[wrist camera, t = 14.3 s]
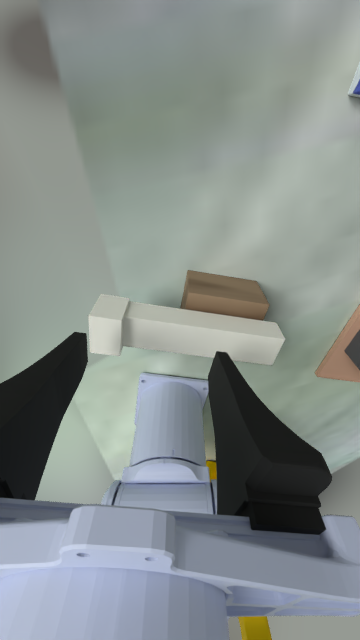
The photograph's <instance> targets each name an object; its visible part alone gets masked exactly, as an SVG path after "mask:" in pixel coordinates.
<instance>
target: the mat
mask: <svg viewBox="0 0 360 640" xmlns="http://www.w3.org/2000/svg"><path fill="white" fill-rule="evenodd" d="M359 329H360V305H359V306H358V308H357V309H356V311H355V312H354V314H353V315H352V317H351V318H350V320H349V321H348V323H347V324H346V326H345V328H344V329H343V331H342V332H341V334H340V335H339V337H338V338H337V340H336V341H335V343H334V344H333V346H332V347H331V349H330V350H329V352H328V353H327V355H326V357H325V358H324V360H323V361H322V363H321V364H320V366H319V367H318V369H317V370H316V372H315V374H316V375H317V377H323V378H331V379H338V380H346V381H354V382H360V370H359V369H358V368H357V366H356V365H355V364H354V363H353V361H352V360H351V359H350V358H349V356H348V355H347V354H346V353H345V351H344V350H345V349H346V348H347V346H348V345H349V343H350V342H351V341H352V339H353V338H354V336H355V335H356V333H357V332H358V331H359Z"/></svg>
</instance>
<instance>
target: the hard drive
mask: <svg viewBox="0 0 360 640" xmlns="http://www.w3.org/2000/svg"><path fill="white" fill-rule="evenodd" d="M348 96H354V97H360V62H359V65H358V68H357V70H356V73H355V76H354V79H353V81H352V84H351V87H350V89H349V92H348Z"/></svg>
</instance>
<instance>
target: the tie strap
mask: <svg viewBox="0 0 360 640" xmlns="http://www.w3.org/2000/svg"><path fill="white" fill-rule="evenodd" d="M129 299H130V298H125V297H118V296H110V295H103V294H101V295H100V296H99V298H98V300H97V302H96V304H95V305H94V307H93V309H92V311H91V312H90V314H89V334H90V352H91V353H98V354H106V355H114V356H120V355H121V351H122V348H123V346H127V347H135V348H142V349H150V350H157V351H165V352H173V353H180V354H188V355H196V356H203V357H211V358H214V357H215V354H216V351H220V352H227V353H228V355H229V356H230V358H231V359H232V360H234V361H241V362H249V363H257V364H264V365H273V363H274V361H275V359H276V357H277V355H278V353H279V351H280V349H281V347H282V345H283V343H284V341H285V338H284V336H283V334H282V332H281V330H280V329H279V327H278V325H277V323H275V322H268V321H261V320H254V319H247V318H241V317H234V316H227V315H220V314H213V313H206V312H200V311H193V310H186V309H179V308H172V307H165V306H158V305H152V304H145V303H138V302H131V301H129Z"/></svg>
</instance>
